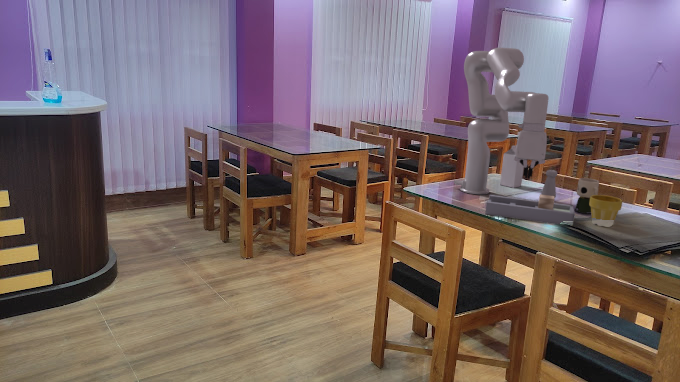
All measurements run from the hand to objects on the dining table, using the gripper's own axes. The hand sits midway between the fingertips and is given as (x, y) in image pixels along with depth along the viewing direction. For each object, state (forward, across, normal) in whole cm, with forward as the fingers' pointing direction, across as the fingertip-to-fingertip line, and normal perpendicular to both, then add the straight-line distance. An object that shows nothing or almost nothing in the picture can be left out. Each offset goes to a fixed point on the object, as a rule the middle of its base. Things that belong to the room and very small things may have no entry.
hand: (527, 177), depth 185 cm
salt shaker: (+14, +9, +29) cm, 33 cm away
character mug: (+14, +22, +17) cm, 31 cm away
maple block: (+11, +8, +1) cm, 14 cm away
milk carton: (+13, -7, +50) cm, 52 cm away
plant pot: (+15, +27, +3) cm, 31 cm away
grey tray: (+14, +2, +1) cm, 14 cm away
